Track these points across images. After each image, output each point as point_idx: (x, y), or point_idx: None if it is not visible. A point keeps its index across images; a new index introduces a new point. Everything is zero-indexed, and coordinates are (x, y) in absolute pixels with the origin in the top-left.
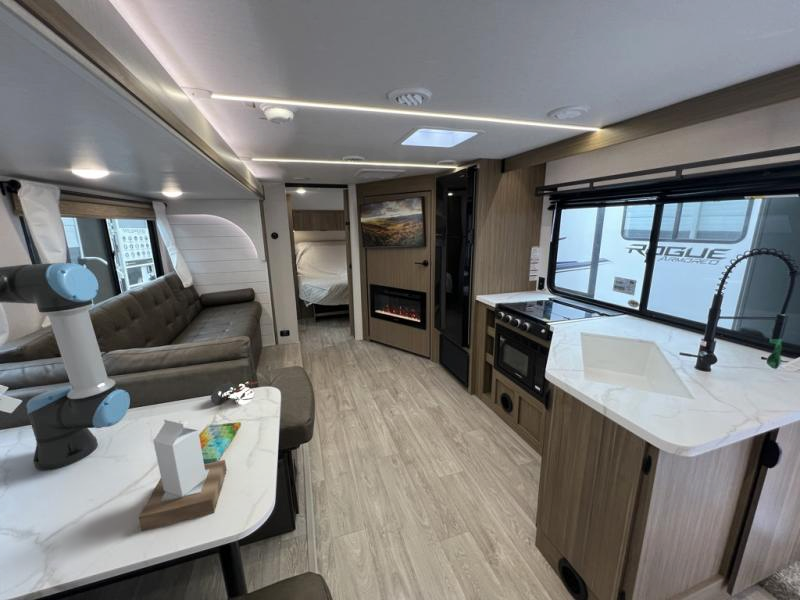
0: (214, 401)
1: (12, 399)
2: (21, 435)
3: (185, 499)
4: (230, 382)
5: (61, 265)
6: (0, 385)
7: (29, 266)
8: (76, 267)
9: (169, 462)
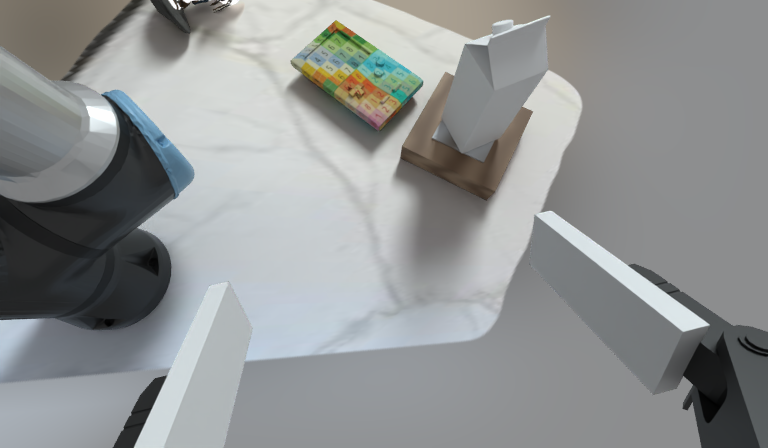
0: (185, 26)
1: (575, 233)
2: None
3: (504, 136)
4: None
5: None
6: (214, 308)
7: None
8: None
9: (513, 105)
